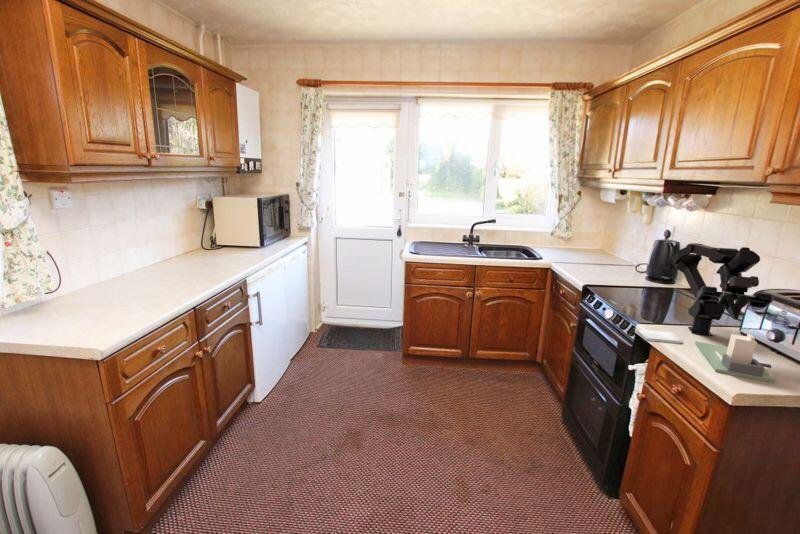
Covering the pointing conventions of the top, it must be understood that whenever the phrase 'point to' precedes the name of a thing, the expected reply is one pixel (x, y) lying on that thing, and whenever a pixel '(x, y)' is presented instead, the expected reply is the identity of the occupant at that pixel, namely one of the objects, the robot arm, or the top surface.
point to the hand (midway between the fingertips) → (735, 319)
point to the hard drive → (659, 336)
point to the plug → (742, 349)
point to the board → (715, 358)
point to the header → (743, 366)
